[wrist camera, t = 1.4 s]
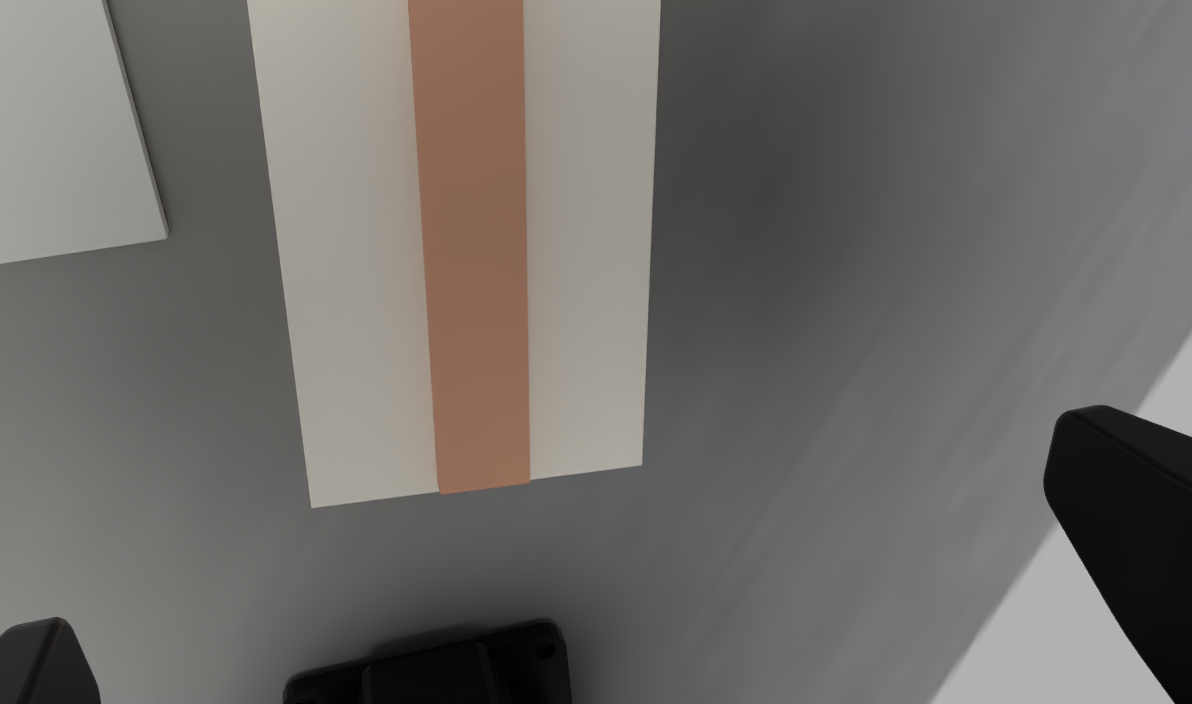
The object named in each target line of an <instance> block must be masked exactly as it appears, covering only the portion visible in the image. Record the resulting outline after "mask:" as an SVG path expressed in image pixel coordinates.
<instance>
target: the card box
mask: <svg viewBox="0 0 1192 704" xmlns="http://www.w3.org/2000/svg"><path fill="white" fill-rule="evenodd" d="M247 4H248V12H249V20H250V28H251V36H252V44H253V52H254V60H255V68H256V75H257V83H258V91H259V99H260V107H261V115H262V123H263V131H264V139H265V146H266V154H267V162H268V170H269V178H270V186H271V194H272V202H273V210H274V218H275V225H276V233H277V241H278V249H279V257H280V265H281V273H282V281H283V289H284V296H285V304H286V312H287V320H288V328H289V336H290V344H291V352H292V360H293V368H294V375H295V383H296V391H297V399H298V407H299V415H300V423H301V431H302V439H303V446H304V454H305V462H306V470H307V478H308V486H309V494H310V502H311V508H317V507H325V506H332V505H340V504H348V503H355V502H363V501H371V500H378V499H386V498H394V497H402V496H409V495H417V494H425V493H432V492H440V495H443V494H451V493H458V492H466V491H474V490H481V489H489V488H497V487H504V486H512V485H520V484H527V483H530V480H532V479H540V478H548V477H555V476H563V475H571V474H579V473H586V472H594V471H602V470H609V469H617V468H625V467H632V466H640V465H642V450H643V426H644V401H645V377H646V352H647V327H648V303H649V278H650V254H651V229H652V205H653V180H654V156H655V131H656V107H657V82H658V57H659V33H660V8H661V0H247Z"/></svg>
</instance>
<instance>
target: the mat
mask: <svg viewBox="0 0 1192 704" xmlns="http://www.w3.org/2000/svg"><path fill="white" fill-rule="evenodd" d="M168 233H169V229H168V225H167V222H166V218H165V214H164V211H163V207H162V203H161V200H160V196H159V192H158V189H157V185H156V181H155V178H154V174H153V170H152V167H151V163H150V159H149V156H148V152H147V148H146V145H145V141H144V137H143V134H142V130H141V126H140V123H139V119H138V115H137V112H136V108H135V104H134V101H133V97H132V93H131V90H130V86H129V82H128V79H127V75H126V71H125V68H124V64H123V60H122V57H121V53H120V49H119V46H118V42H117V38H116V35H115V31H114V27H113V24H112V20H111V16H110V13H109V9H108V5H107V2H106V0H0V264H2V263H9V262H16V261H22V260H29V259H36V258H43V257H49V256H56V255H63V254H69V253H76V252H83V251H90V250H96V249H103V248H110V247H117V246H123V245H130V244H137V243H144V242H150V241H157V240H164V239H167V237H168Z"/></svg>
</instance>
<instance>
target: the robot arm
mask: <svg viewBox="0 0 1192 704" xmlns="http://www.w3.org/2000/svg"><path fill="white" fill-rule="evenodd" d="M1043 484H1044V492H1045V496H1046V498H1047V501H1048V503H1049V505H1050V507H1051V509H1052V511H1053V512H1054V514H1055V516H1056V518H1057V519H1058V521H1059V523H1060V525H1061V526H1062V528H1063V530H1064V531H1065V533H1066V535H1067V537H1068V538H1069V540H1070V542H1071V543H1072V545H1073V547H1074V549H1075V550H1076V552H1077V554H1078V556H1079V557H1080V559H1081V561H1082V562H1083V564H1084V566H1085V568H1086V569H1087V571H1088V573H1089V574H1090V576H1091V578H1092V580H1093V581H1094V583H1095V585H1096V587H1097V588H1098V590H1099V592H1100V593H1101V595H1102V597H1103V599H1104V600H1105V602H1106V604H1107V605H1108V607H1109V609H1110V611H1111V612H1112V614H1113V616H1114V617H1115V619H1116V620H1117V622H1118V623H1119V625H1120V627H1121V628H1122V630H1123V632H1124V633H1125V635H1126V636H1127V638H1128V639H1129V641H1130V642H1131V644H1132V645H1133V646H1134V648H1135V649H1136V651H1137V652H1138V654H1139V655H1140V656H1141V658H1142V659H1143V661H1144V662H1145V663H1146V665H1147V666H1148V668H1149V669H1150V670H1151V672H1152V673H1153V674H1154V676H1155V677H1156V679H1157V680H1158V681H1159V683H1160V684H1161V686H1162V687H1163V688H1164V690H1165V691H1166V692H1167V694H1168V695H1169V696H1170V698H1171V699H1172V701H1173V702H1174V703H1175V704H1192V437H1190V436H1188V435H1185V434H1182V433H1179V432H1177V431H1174V430H1171V429H1169V428H1166V427H1163V426H1161V425H1158V424H1155V423H1152V422H1150V421H1147V420H1145V419H1142V418H1139V417H1137V416H1134V415H1131V414H1129V413H1126V412H1123V411H1121V410H1118V409H1115V408H1112V407H1110V406H1106V405H1094V406H1089V407H1084V408H1079V409H1074V410H1070V411H1067V412H1065V413H1063V414H1062V415H1061V416H1060V417H1059V419H1058V420H1057V421H1056V424H1055V428H1054V432H1053V437H1052V441H1051V446H1050V450H1049V455H1048V459H1047V463H1046V468H1045V472H1044V478H1043ZM543 643H550V644H549V645H548V646H546V647H544V648H537V647H538V646H539V645H541V644H543ZM305 698H310V699H313V700H312V701H310V702H307V703H301V702H299V700H302V699H305ZM0 704H101V699H100V693H99V689H98V685H97V683H96V680H95V678H94V676H93V673H92V671H91V669H90V667H89V664H88V662H87V660H86V658H85V655H84V653H83V651H82V648H81V646H80V644H79V642H78V639H77V637H76V635H75V633H74V630H73V629H72V627H71V625H70V624H69V623H68V622H67V621H66V620H65V619H63V618H59V617H53V618H48V619H43V620H38V621H33V622H28V623H23V624H19V625H15V626H13V627H10V628H9V629H7V630H6V631H5V632H4V633H3V634H2V635H1V636H0ZM283 704H572V697H571V688H570V678H569V669H568V659H567V650H566V644H565V641H564V638H563V635H562V633H561V630H560V629H559V628H558V627H557V626H556V625H553V624H550V623H541V624H536V625H532V626H527V627H523V628H518V629H514V630H510V631H505V632H501V633H496V634H492V635H488V636H483V637H479V638H475V639H470V640H466V641H461V642H457V643H453V644H448V645H444V646H439V647H435V648H431V649H426V650H422V651H418V652H413V653H409V654H404V655H400V656H396V657H391V658H387V659H382V660H378V661H374V662H369V663H365V664H360V665H356V666H352V667H347V668H343V669H339V670H334V671H330V672H325V673H321V674H317V675H312V676H308V677H303V678H300V679H297V680H295V681H293V682H291V683H290V684H289V685H288V686H287V687H286V688H285V690H284V692H283Z"/></svg>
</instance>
